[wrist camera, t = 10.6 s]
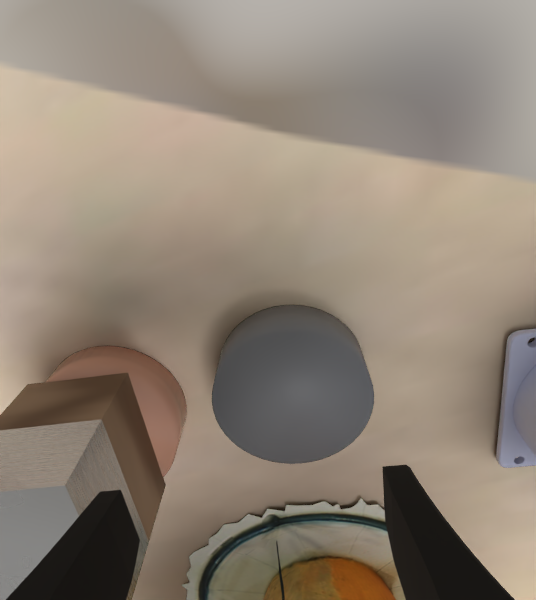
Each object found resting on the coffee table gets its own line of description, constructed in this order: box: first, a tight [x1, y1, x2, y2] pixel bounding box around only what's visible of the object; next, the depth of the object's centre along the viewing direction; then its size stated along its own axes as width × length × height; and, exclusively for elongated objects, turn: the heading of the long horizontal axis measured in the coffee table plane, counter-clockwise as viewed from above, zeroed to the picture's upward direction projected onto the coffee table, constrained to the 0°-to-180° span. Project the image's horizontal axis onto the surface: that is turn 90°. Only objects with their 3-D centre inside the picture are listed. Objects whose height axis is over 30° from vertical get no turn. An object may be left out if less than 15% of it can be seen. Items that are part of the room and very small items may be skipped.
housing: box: [0, 373, 165, 600], centre depth 17 cm, size 4×6×6 cm
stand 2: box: [212, 305, 374, 464], centre depth 20 cm, size 7×7×2 cm
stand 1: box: [46, 346, 187, 477], centre depth 21 cm, size 7×7×2 cm
